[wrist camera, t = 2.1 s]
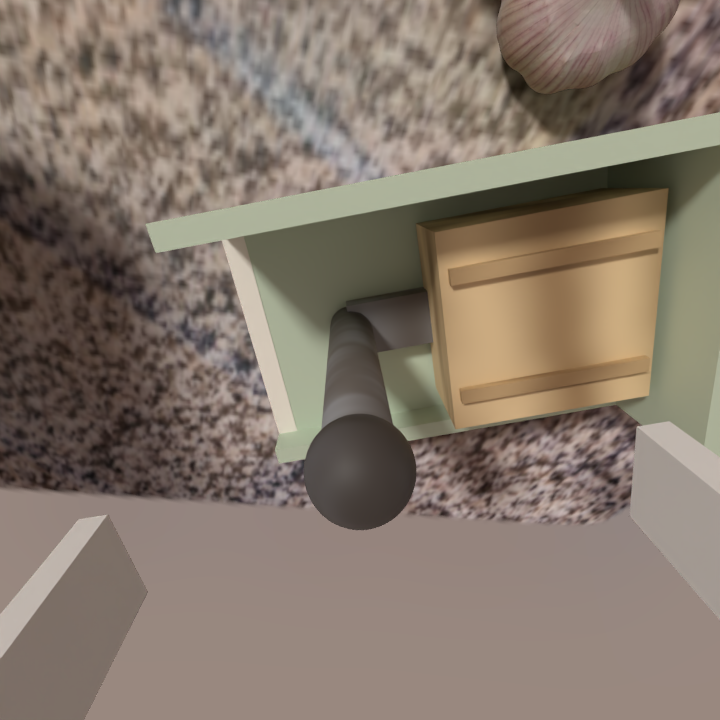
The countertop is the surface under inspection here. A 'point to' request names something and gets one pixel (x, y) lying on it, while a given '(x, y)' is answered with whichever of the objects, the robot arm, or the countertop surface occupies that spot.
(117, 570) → the robot arm
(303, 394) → the bay
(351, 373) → the tan boxy piece
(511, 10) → the garlic bulb
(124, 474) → the countertop surface
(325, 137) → the countertop surface
